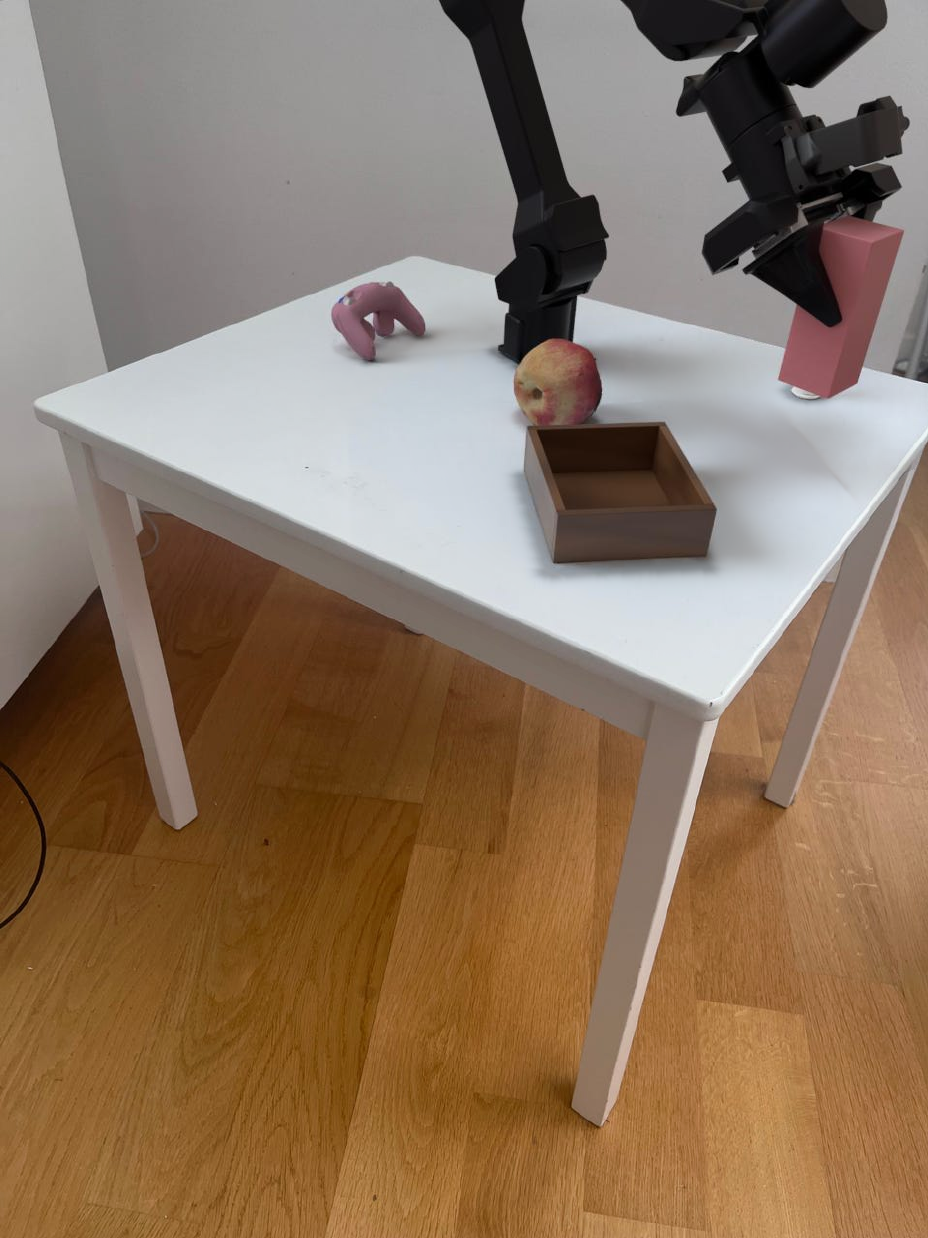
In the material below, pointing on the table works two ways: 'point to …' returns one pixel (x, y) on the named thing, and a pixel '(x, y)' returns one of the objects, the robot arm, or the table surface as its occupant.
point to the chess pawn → (803, 393)
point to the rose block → (842, 307)
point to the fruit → (558, 384)
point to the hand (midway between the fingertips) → (852, 316)
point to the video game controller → (374, 315)
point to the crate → (616, 493)
